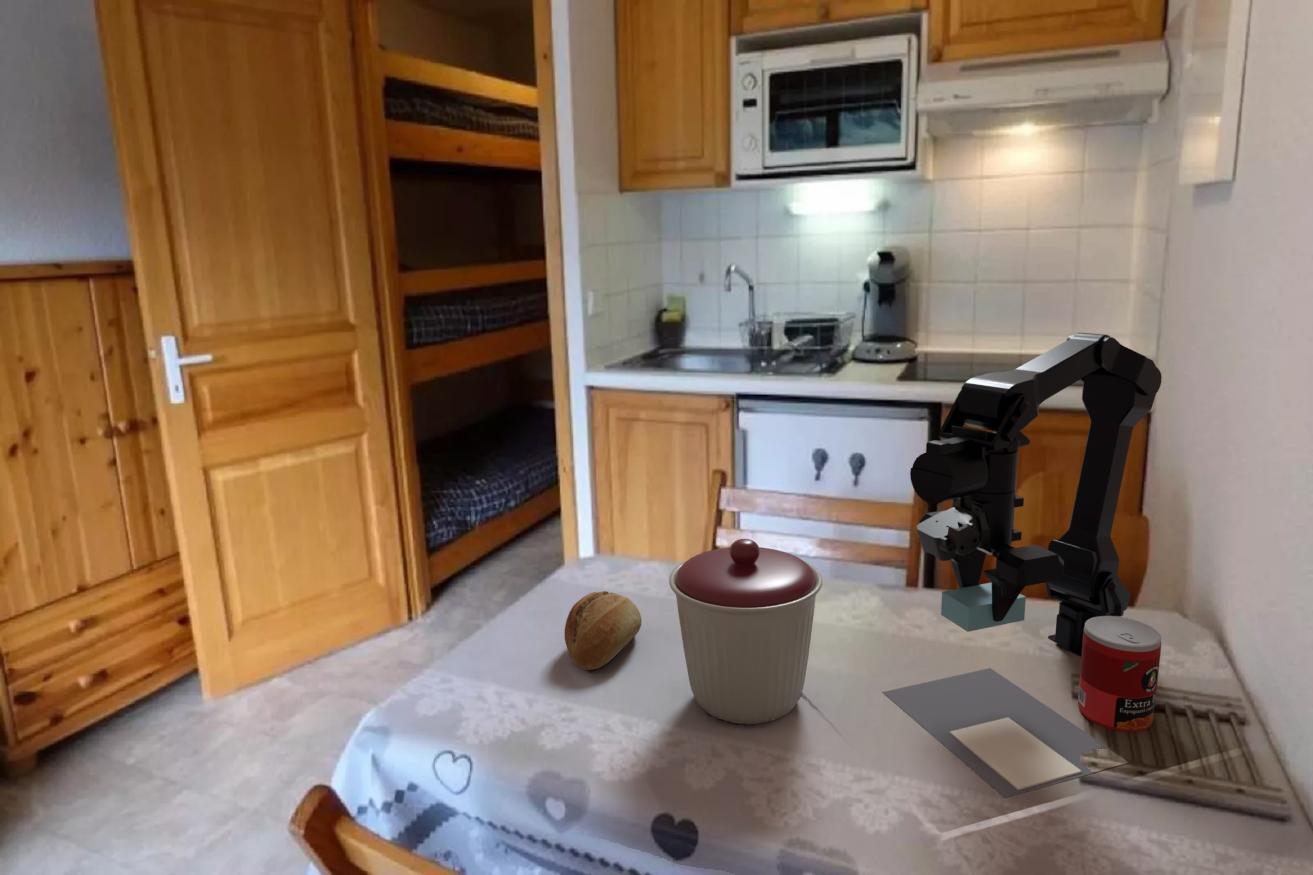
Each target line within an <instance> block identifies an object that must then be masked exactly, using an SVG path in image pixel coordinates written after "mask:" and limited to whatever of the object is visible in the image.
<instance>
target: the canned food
mask: <svg viewBox="0 0 1313 875" xmlns="http://www.w3.org/2000/svg"><path fill="white" fill-rule="evenodd" d="M1161 652H1162V635H1161V633H1159V631H1158V630H1157V629H1156V628H1154V627H1153V626H1150V625H1148V624H1146V623H1144V622H1141V621H1139V620H1136V619H1132V618H1128V617H1124V616H1121V617H1119V616H1098V617H1093V618H1091V619H1089V620H1087V621H1086V623H1085V627H1084V634H1083V644H1082V657H1081V658H1080V659H1081V660H1080V670H1079V671H1080V672H1079V682H1078V684H1079V686H1078V695H1077V696H1078V699H1077V705H1078V709H1079V712H1080V713H1081V715H1082V716H1083V717H1085V718H1086V719H1087V720H1088V721H1090V722H1091V723H1094V724H1095V725H1098V726H1100V727H1102V728H1104V729H1108V730H1111V731H1117V732H1121V733H1123V732H1124V733H1137V732H1139V733H1140V732H1143V731H1146V730H1147V729H1149V728H1150V727H1151V726H1152V724H1153V721H1154V716H1155V706H1156V697H1157V689H1158V680H1159V673H1160V672H1159V670H1160V662H1161Z"/></svg>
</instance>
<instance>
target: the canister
mask: <svg viewBox="0 0 1313 875" xmlns="http://www.w3.org/2000/svg"><path fill="white" fill-rule="evenodd" d="M668 580H669V581H668V584H669V588H671V590H672V592H673V594H675V597H676V598H675V599H676V605H677V611H678V612H677V613H678V619H679V625H680V631H681V632H680V633H681V640H682V646H683V652H684V658H685V659H684V660H685V664H686V669H687V675H688V682H689V686H690V690H691V692H692V694H693V696H694V699H695V700H696V702H697V704H698V705H699V706H700V708H701V709H703V710H704V711H705V712H706V713H708V714H709V715H711V716H712V717H715V718H717V719H719V720H724V721H725V722H731V723H732V724H736V723H737V724H740V725H744V724H746V725H751V724H753V725H754V724H755V725H757V724H765V723H767V722H773V721H774V720H779V719H780V718H782V717H784V716H785V715H787V714H789V713H790V712H791V711H792V710H793V709H794V708H795V707H796V705H797V704H798V703H799V701H800V699H801V697H802V693H803V689H804V686H805V681H806V675H807V668H808V663H809V654H810V646H811V640H812V630H813V623H814V615H815V608H816V607H815V606H816V596H817V594H819V593H820V590H821V588H822V586H823V577H822V574H821V572H820V571H819V569H817V568H816V567H814V566H813V564H810V563H809V562H807V561H804V560H803V559H802V558H800V557H798V556H796V555H794V554H791V553H790V552H789V553H788V552H785V551H782V550H778V549H775V548H768V547H760V546H759V545H758V544H757V542H755V541H754V540H753V539H750V538H740V539H736V540H735V541H734V542H732V544H731V545H730V546H729V547H722V548H717V549H716V548H715V549H711V550H707V551H704V552H701V553H699V554H696V555H694V556H692V557H690V558H689V559H687V560H685V561H684V562H682V563H680V564H679V565H677V566H676V567H675V568H674V569H673V570H672V572H671V573H670V575H669V578H668Z"/></svg>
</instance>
